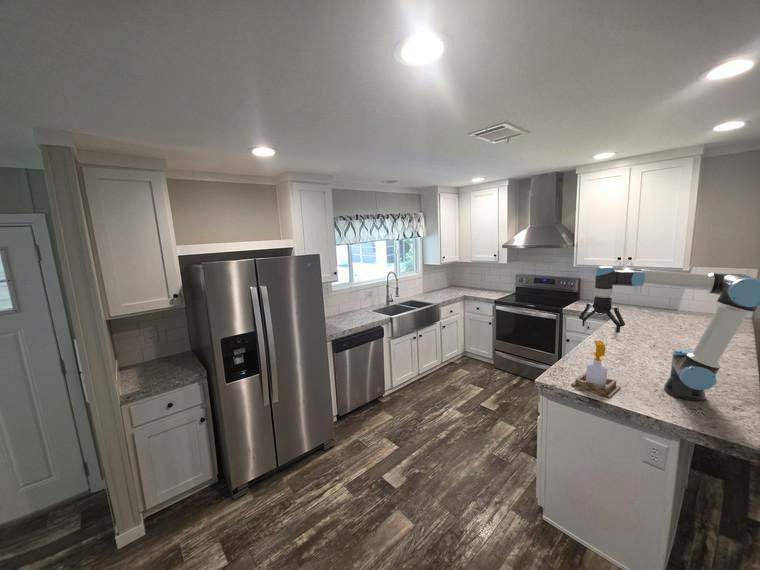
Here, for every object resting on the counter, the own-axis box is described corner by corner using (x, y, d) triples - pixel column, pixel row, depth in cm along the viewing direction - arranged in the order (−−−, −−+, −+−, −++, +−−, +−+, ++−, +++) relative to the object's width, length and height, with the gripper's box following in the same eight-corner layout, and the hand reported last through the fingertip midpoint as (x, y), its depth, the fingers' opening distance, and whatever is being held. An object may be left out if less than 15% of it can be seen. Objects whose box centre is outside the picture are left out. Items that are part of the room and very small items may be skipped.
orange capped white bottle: (601, 381, 174) (605, 339, 170) (608, 389, 165) (612, 345, 161) (583, 380, 176) (586, 338, 172) (589, 387, 168) (592, 344, 164)
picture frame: (620, 388, 168) (621, 381, 168) (609, 398, 159) (610, 391, 158) (583, 376, 183) (583, 370, 182) (571, 385, 173) (571, 378, 173)
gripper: (635, 298, 155) (631, 339, 158) (579, 292, 175) (577, 328, 178) (630, 300, 150) (626, 342, 154) (573, 293, 170) (571, 331, 174)
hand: (599, 335), depth 166 cm, fingers open, 13 cm apart
